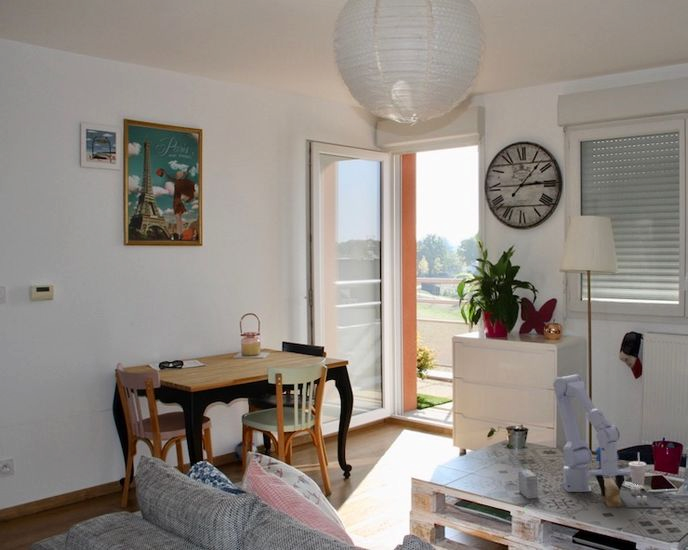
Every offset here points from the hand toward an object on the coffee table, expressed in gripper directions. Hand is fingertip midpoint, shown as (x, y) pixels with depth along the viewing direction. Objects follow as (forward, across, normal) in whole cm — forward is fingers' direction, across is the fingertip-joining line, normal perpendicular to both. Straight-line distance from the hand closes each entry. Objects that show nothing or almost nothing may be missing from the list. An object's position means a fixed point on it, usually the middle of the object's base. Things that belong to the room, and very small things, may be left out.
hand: (610, 495), depth 272 cm
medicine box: (+2, -29, +6) cm, 30 cm away
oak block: (+2, 0, 0) cm, 2 cm away
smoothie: (+2, +13, +13) cm, 19 cm away
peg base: (+2, +10, 0) cm, 10 cm away
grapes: (+2, +7, +37) cm, 38 cm away
